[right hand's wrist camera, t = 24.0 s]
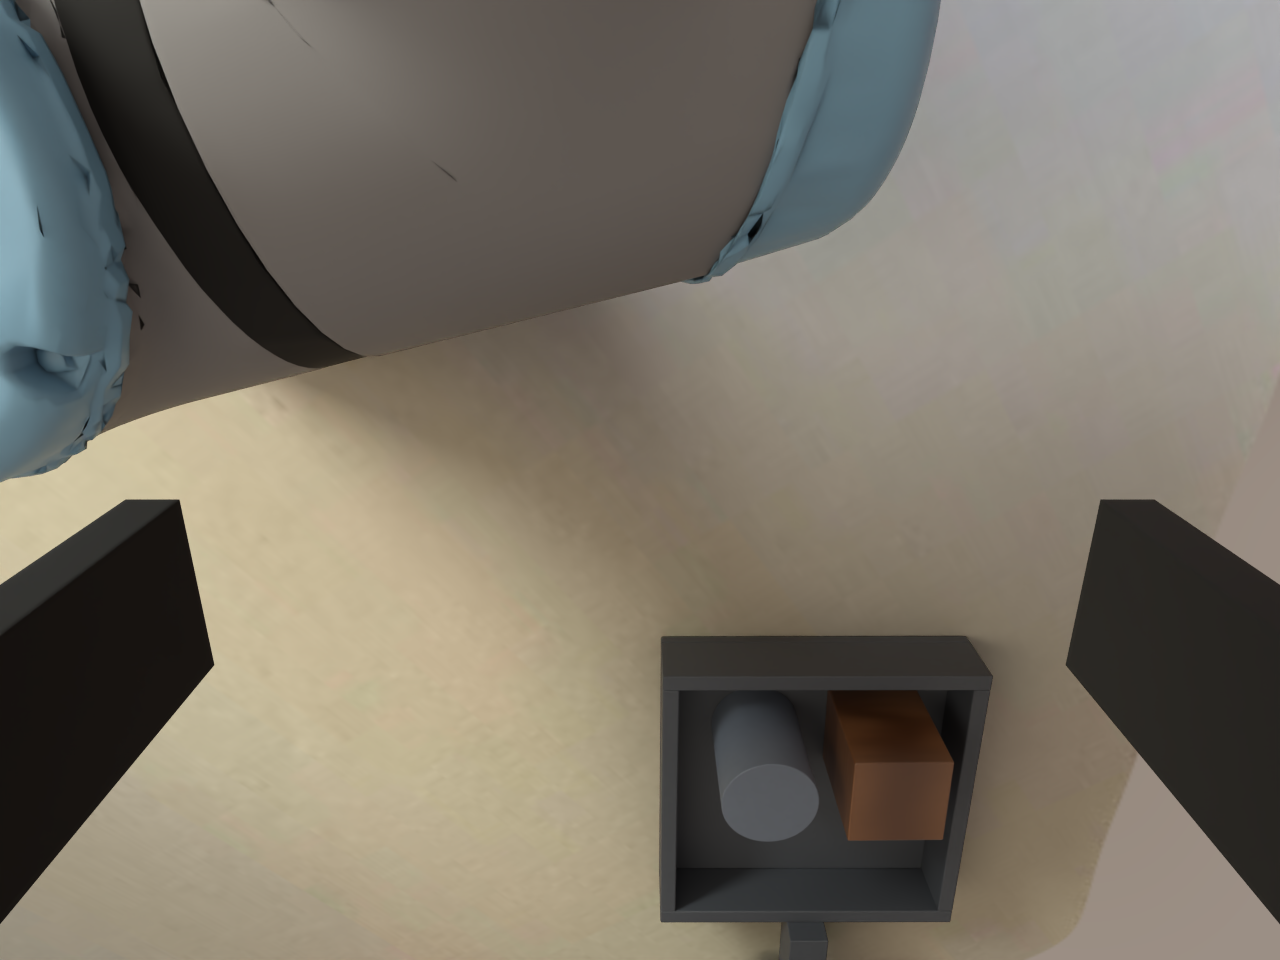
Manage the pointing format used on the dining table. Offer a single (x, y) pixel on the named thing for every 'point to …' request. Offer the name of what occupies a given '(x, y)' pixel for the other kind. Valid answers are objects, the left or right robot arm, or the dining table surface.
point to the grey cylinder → (763, 766)
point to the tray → (820, 854)
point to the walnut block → (886, 765)
